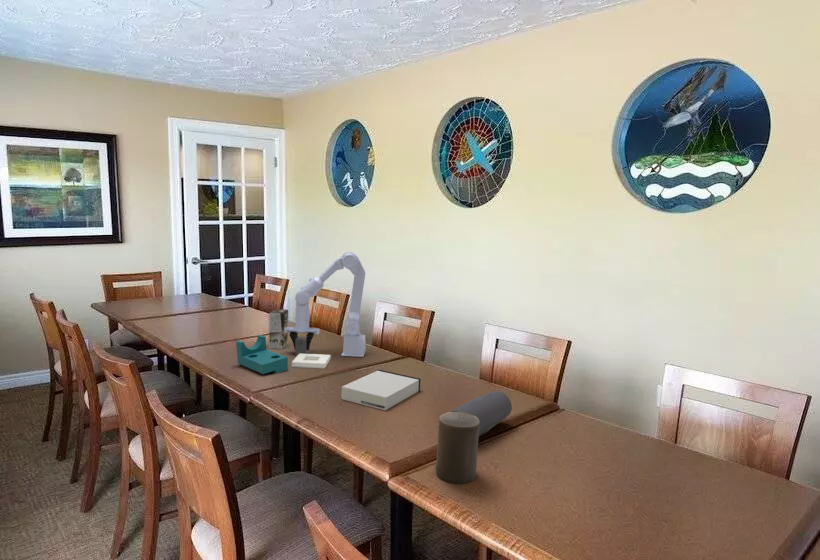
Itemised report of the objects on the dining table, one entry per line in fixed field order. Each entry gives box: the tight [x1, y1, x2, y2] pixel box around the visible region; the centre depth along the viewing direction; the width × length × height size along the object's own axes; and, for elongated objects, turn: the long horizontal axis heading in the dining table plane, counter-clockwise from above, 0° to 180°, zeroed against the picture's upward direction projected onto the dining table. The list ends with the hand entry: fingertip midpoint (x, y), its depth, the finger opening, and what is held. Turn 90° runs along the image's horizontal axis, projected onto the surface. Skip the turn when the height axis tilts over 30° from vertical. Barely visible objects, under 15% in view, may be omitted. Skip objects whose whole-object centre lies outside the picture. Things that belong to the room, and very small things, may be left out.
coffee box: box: [268, 308, 289, 350], centre depth 235 cm, size 9×6×16 cm
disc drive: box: [340, 369, 421, 411], centre depth 178 cm, size 18×22×5 cm
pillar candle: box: [435, 411, 480, 485], centre depth 125 cm, size 10×10×15 cm
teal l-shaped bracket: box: [235, 334, 289, 375], centre depth 202 cm, size 18×11×10 cm, turn 47°
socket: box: [291, 353, 332, 370], centre depth 212 cm, size 13×13×2 cm
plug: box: [294, 335, 309, 356], centre depth 224 cm, size 5×6×7 cm
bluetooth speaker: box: [450, 390, 513, 437], centre depth 150 cm, size 23×9×10 cm, turn 141°
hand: (301, 349), depth 224 cm, fingers closed on plug, 5 cm apart
